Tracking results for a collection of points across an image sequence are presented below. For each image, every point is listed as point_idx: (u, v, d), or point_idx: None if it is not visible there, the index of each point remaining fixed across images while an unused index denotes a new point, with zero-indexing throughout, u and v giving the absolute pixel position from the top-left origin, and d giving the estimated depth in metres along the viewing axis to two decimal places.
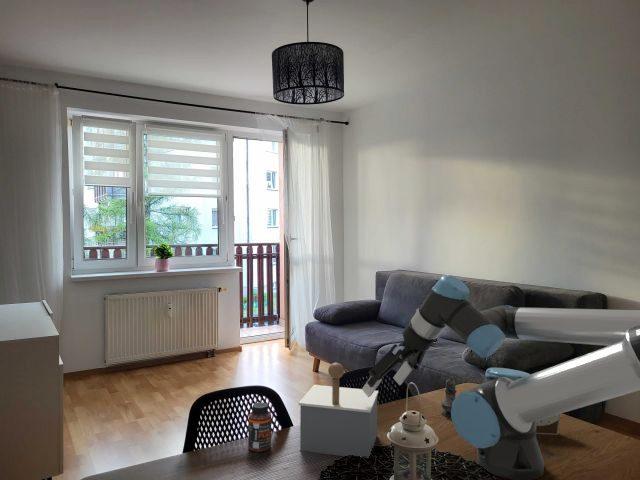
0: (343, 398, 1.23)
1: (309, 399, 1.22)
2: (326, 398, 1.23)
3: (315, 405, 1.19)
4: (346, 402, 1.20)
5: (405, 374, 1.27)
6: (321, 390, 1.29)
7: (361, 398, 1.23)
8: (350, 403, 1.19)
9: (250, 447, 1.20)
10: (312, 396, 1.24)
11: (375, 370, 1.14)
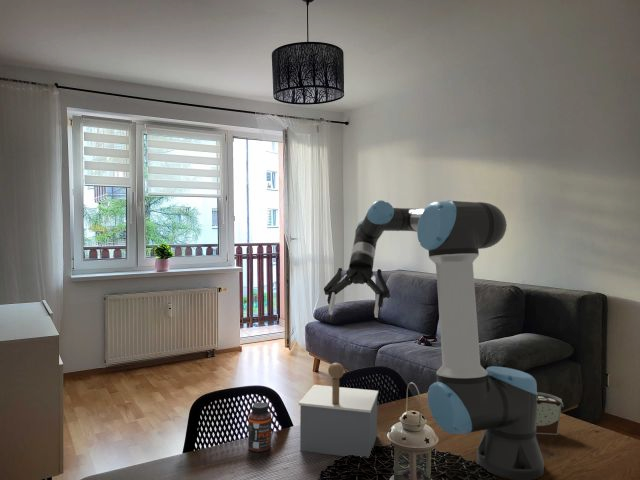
0: (343, 398, 1.23)
1: (309, 399, 1.22)
2: (326, 398, 1.23)
3: (315, 405, 1.19)
4: (346, 402, 1.20)
5: (375, 302, 1.37)
6: (321, 390, 1.29)
7: (361, 398, 1.23)
8: (350, 403, 1.19)
9: (250, 447, 1.20)
10: (312, 396, 1.24)
11: None
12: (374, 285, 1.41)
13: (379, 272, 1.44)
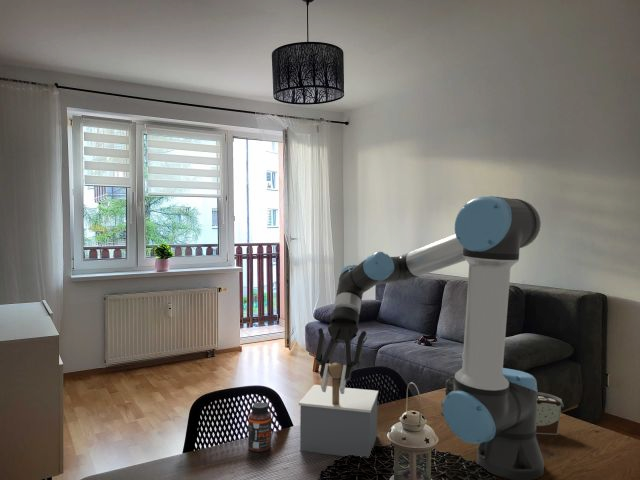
0: (343, 398, 1.23)
1: (309, 399, 1.22)
2: (326, 398, 1.23)
3: (315, 405, 1.19)
4: (346, 402, 1.20)
5: (342, 375, 1.17)
6: (321, 390, 1.29)
7: (361, 398, 1.23)
8: (350, 403, 1.19)
9: (250, 447, 1.20)
10: (312, 396, 1.24)
11: None
12: (347, 351, 1.21)
13: (362, 335, 1.24)
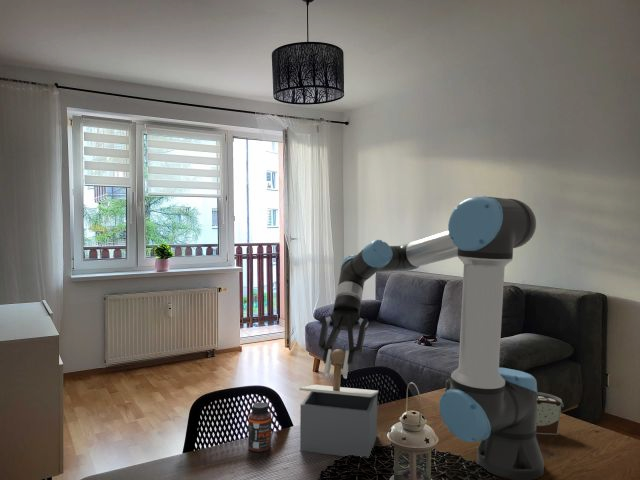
0: None
1: (310, 387, 1.23)
2: (326, 388, 1.23)
3: (316, 390, 1.19)
4: (346, 391, 1.21)
5: (344, 360, 1.20)
6: (321, 386, 1.29)
7: (361, 391, 1.23)
8: (350, 391, 1.20)
9: (250, 447, 1.20)
10: (313, 387, 1.25)
11: None
12: (350, 337, 1.24)
13: (364, 322, 1.27)
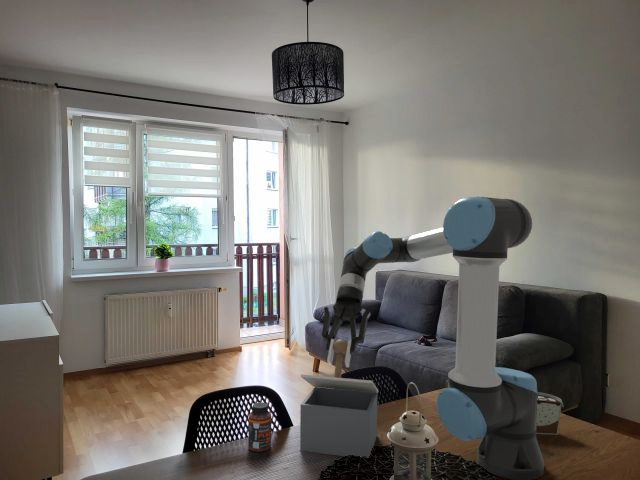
0: None
1: None
2: None
3: (317, 376, 1.20)
4: None
5: (347, 349, 1.23)
6: None
7: None
8: None
9: (250, 447, 1.20)
10: None
11: None
12: (352, 327, 1.27)
13: (366, 312, 1.30)
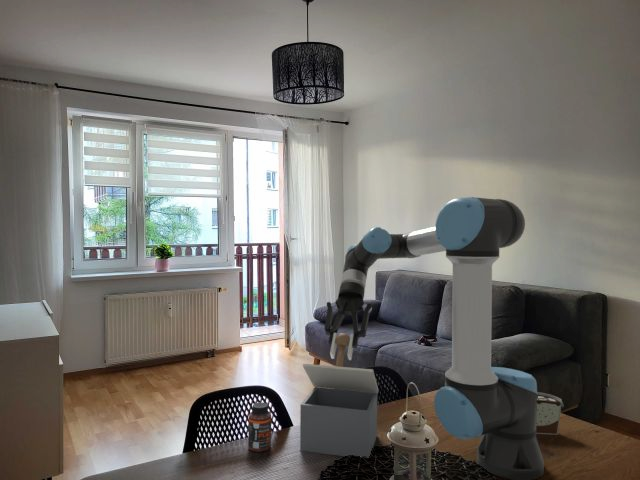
0: None
1: None
2: None
3: (319, 365, 1.22)
4: None
5: None
6: None
7: None
8: None
9: (250, 447, 1.20)
10: None
11: None
12: (354, 321, 1.30)
13: (368, 307, 1.33)
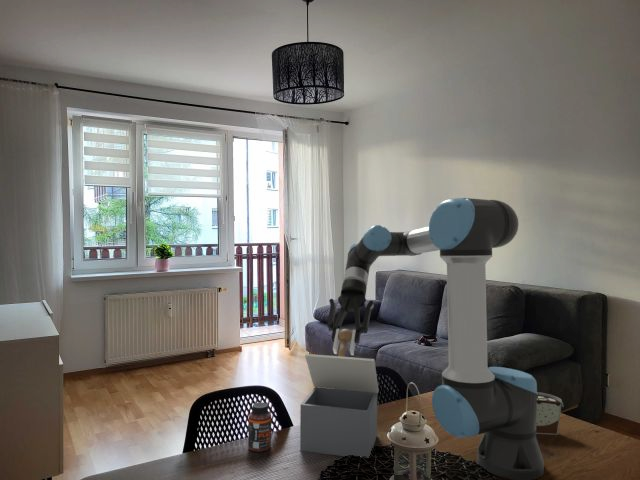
0: None
1: None
2: None
3: (321, 355, 1.24)
4: None
5: None
6: None
7: None
8: None
9: (250, 447, 1.20)
10: None
11: None
12: (356, 317, 1.33)
13: (370, 304, 1.36)
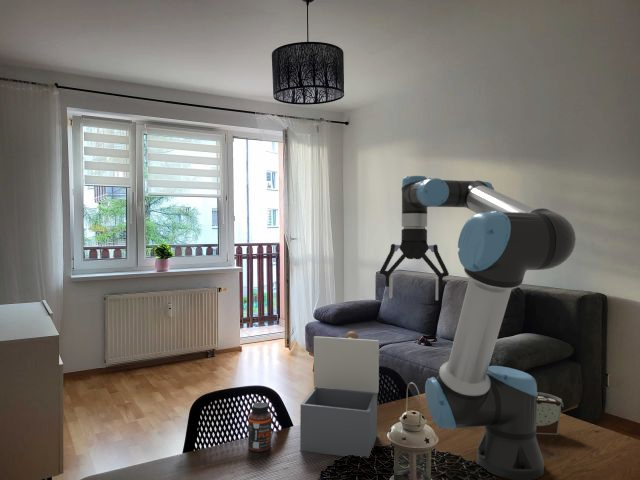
0: None
1: None
2: None
3: (329, 337, 1.32)
4: None
5: None
6: None
7: None
8: None
9: (250, 447, 1.20)
10: None
11: None
12: (432, 266, 1.37)
13: (435, 249, 1.37)
